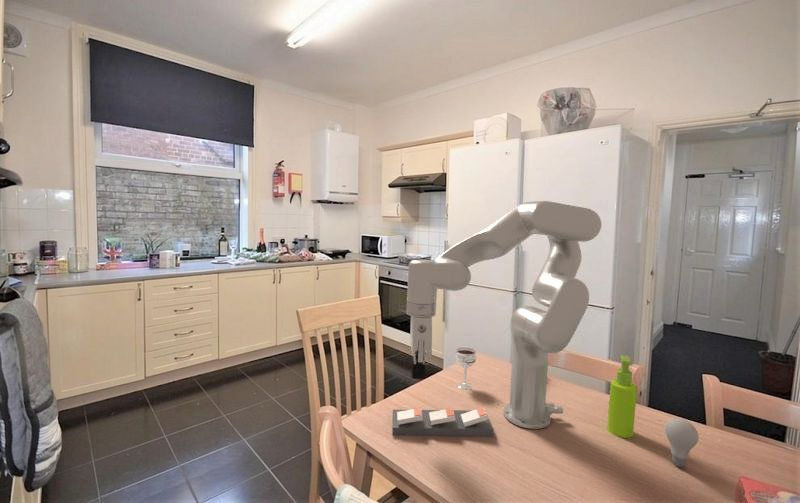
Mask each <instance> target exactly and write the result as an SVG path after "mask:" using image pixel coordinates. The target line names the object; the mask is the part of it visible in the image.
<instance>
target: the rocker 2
mask: <svg viewBox="0 0 800 503" xmlns="http://www.w3.org/2000/svg"><path fill="white" fill-rule="evenodd" d="M469 411H470V412H467V413H464V414H461V417H462V420H463V423H464V426H465V427H466V426H469V425H472V424H475V423H478V422H482V421H485V420H488V418H489V416H488V413H487V411H486V410H485V408H484V406H482V407H479V408H476V409H474V410H469ZM487 416H488V417H487Z"/></svg>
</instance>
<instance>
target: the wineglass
mask: <svg viewBox="0 0 800 503" xmlns="http://www.w3.org/2000/svg"><path fill="white" fill-rule="evenodd" d="M455 351H456V353H455V360H456V362H457V363H458V364H459V365H460V366H462V368H463V375H464V376H463V382H458V383H457V384H456V386H457V388H459V389H461V390H470V389H472V388H473V386H472V384H470V383H468V382H466V381H467V380H466V379H467V369H468V368H469V367H472V366H473V365H474V364H475V363H476V360H477V356H476V354H477V350H475V349H473V348H471V347H458V348H456V349H455Z"/></svg>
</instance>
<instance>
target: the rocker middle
mask: <svg viewBox="0 0 800 503" xmlns="http://www.w3.org/2000/svg"><path fill="white" fill-rule="evenodd" d="M439 410H440V411H434V412H429V415H430V421H431V425H434V424H440V423H445V422H450V421H455V415H454V412H453V410H454V409H453V407H449V408H446V409H439Z"/></svg>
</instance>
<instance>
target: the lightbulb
mask: <svg viewBox="0 0 800 503" xmlns="http://www.w3.org/2000/svg"><path fill="white" fill-rule="evenodd" d="M664 433H665V435H666V437H667V440H668V441H669V444H670V453H671V462H672V463H673V464H674V465H675V466H676V467H679V468H681V467H686V464H687V459H688V458H689V455H690V452H691V450H692V449H693V448H694V447H695V446H697V444H698V443H699V438H700V437H699V436H700V435H699V431H698V430H697V429H696V427H695V426H694V424H693V423H691V422H690V421H688V420H685V419H683V418H678V417H677V418H671V419H670V420H668V421H667V422H666V424H665V426H664Z"/></svg>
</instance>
